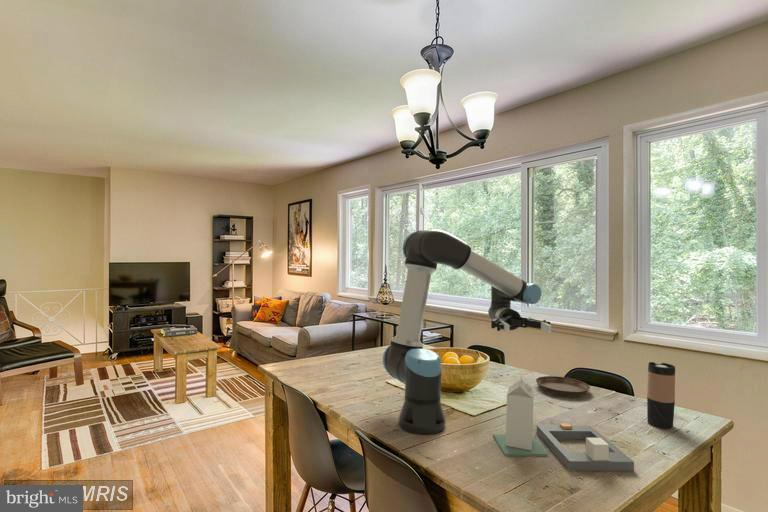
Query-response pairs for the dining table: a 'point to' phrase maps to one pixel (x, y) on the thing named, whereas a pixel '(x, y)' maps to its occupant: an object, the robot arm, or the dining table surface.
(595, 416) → the dining table surface
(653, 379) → the travel mug
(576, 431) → the grey open frame
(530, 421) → the milk carton
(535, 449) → the felt pad
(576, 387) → the plant saucer
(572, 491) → the dining table surface
